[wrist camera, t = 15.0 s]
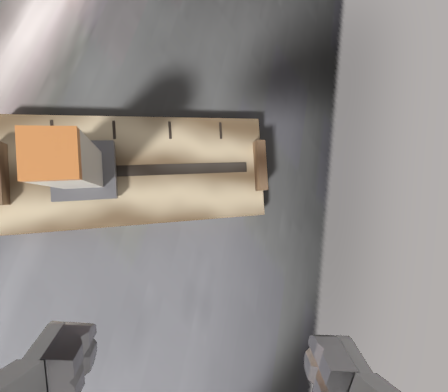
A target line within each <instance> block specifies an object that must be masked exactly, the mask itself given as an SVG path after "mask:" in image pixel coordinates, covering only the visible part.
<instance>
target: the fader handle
mask: <svg viewBox="0 0 448 392" xmlns="http://www.w3.org/2000/svg"><path fill="white" fill-rule="evenodd" d="M15 143H16V161H17V180H18V181H19V182H25V183H31V184H37V185H43V186H49V187H50V192H51V202H64V201H82V200H100V199H118V189H117V172H116V154H115V142H114V141H113V140H90V139H89V138H88V137H87V136H86V135H85V134H84V133H83V132H82V131H81V130H80V129H79V128H78V127H77V126H41V125H15Z"/></svg>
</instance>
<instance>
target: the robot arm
mask: <svg viewBox="0 0 448 392" xmlns="http://www.w3.org/2000/svg"><path fill="white" fill-rule="evenodd" d="M95 334H96V325H95V324H90V323H77V322H59V321H52V322H50V323H49V324H48V325H47V326H46V327H45V329H44V330H43V331H42V333H41V334H40V335H39V337H38V338H37V339H36V341H35V342H34V343H33V345H32V346H31V347H30V349H29V350H28V351H27V353H26V354H25V355H24V357H23V358H22V359H21V360H15V361H13V362H12V363H10V364H8V365H7V366H5V367H4V368H2V369H0V392H81V391H82V389H83V386H84V384H85V377H84V376H85V375H86V374H87V373H89V372H90V371H91V368H92V366H93V364H94V360H95V357H96V352H97V342H96V340H95V339H94V336H95ZM308 344H309V347H310V348H309V349H308V350H306V351H305V356H304V368H305V373H306V376H307V379H308V380H309V381H310V382H311V383H312V384H313V389H312V392H401V391H399V390H398V389H397V388H396V387H394V386H393V385H391V384H390V383H389V382H388V381H386V380H385V379H384V378H382V377H381V376H380V375H378V374H377V373H373V372H372V370H371V369H370V367H369V366H368V364H367V362H366V361H365V359H364V358H363V356H362V355H361V353H360V351H359V350H358V348H357V346H356V345H355V343H354V342H353V340H352V338H350V337H349V336H332V335H311V336H310V337H309V340H308Z"/></svg>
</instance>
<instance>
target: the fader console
mask: <svg viewBox="0 0 448 392" xmlns="http://www.w3.org/2000/svg"><path fill="white" fill-rule="evenodd" d="M15 125H41V126H77V127H78V128H79V129H80V130H81V131H82V132H83V133H84V134H85V135H86V136H87V137H88V138H89V139H90V140H113V141H114V142H115V154H116V172H117V189H118V199H100V200H82V201H64V202H51V192H50V187H49V186H43V185H37V184H31V183H25V182H19V181H18V180H17V161H16V143H15ZM263 190H268V176H267V161H266V145H265V140H260V135H259V119H241V118H186V117H130V116H75V115H20V114H0V236H4V235H16V234H29V233H41V232H54V231H66V230H78V229H91V228H103V227H116V226H128V225H141V224H153V223H166V222H178V221H190V220H203V219H215V218H228V217H240V216H253V215H265V214H264V198H263Z"/></svg>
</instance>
